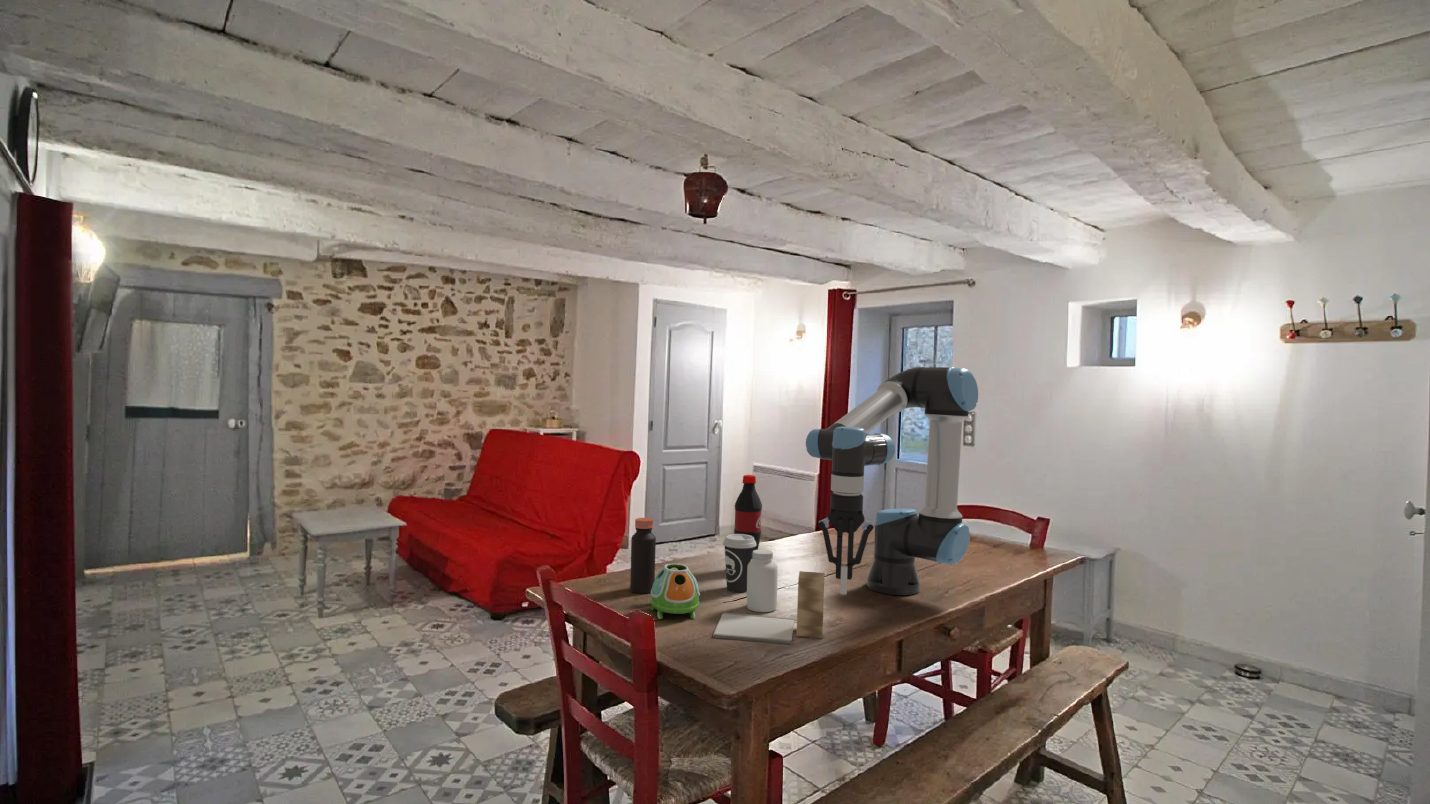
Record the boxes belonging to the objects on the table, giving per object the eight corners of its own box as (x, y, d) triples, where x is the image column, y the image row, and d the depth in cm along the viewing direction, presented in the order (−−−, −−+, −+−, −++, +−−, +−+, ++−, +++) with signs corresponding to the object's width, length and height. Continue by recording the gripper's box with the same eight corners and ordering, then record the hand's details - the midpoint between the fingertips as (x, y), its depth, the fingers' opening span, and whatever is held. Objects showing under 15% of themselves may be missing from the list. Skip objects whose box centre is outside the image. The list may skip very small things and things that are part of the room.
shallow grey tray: (794, 620, 181) (794, 618, 181) (791, 644, 165) (791, 641, 165) (723, 615, 184) (723, 612, 184) (712, 637, 168) (713, 634, 168)
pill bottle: (744, 603, 194) (746, 547, 193) (774, 603, 194) (775, 547, 194) (748, 613, 186) (750, 555, 185) (779, 613, 187) (781, 555, 186)
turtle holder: (687, 598, 197) (689, 554, 196) (705, 620, 179) (706, 572, 179) (642, 600, 194) (643, 556, 193) (655, 623, 176) (657, 575, 176)
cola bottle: (764, 570, 227) (767, 475, 226) (751, 576, 220) (754, 477, 219) (741, 565, 232) (744, 472, 231) (727, 571, 225) (730, 475, 224)
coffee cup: (752, 595, 201) (754, 541, 200) (718, 592, 202) (720, 539, 202) (757, 586, 210) (759, 534, 209) (724, 583, 212) (726, 532, 211)
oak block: (822, 630, 175) (824, 572, 174) (822, 639, 169) (824, 579, 168) (797, 628, 176) (799, 571, 175) (796, 637, 170) (798, 577, 169)
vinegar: (659, 590, 203) (661, 519, 202) (641, 595, 198) (643, 522, 197) (643, 585, 207) (645, 515, 206) (625, 590, 202) (626, 518, 201)
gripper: (874, 491, 173) (870, 590, 173) (819, 488, 175) (815, 585, 175) (876, 497, 165) (872, 599, 166) (818, 493, 167) (815, 595, 168)
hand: (843, 592), depth 171 cm, fingers closed
